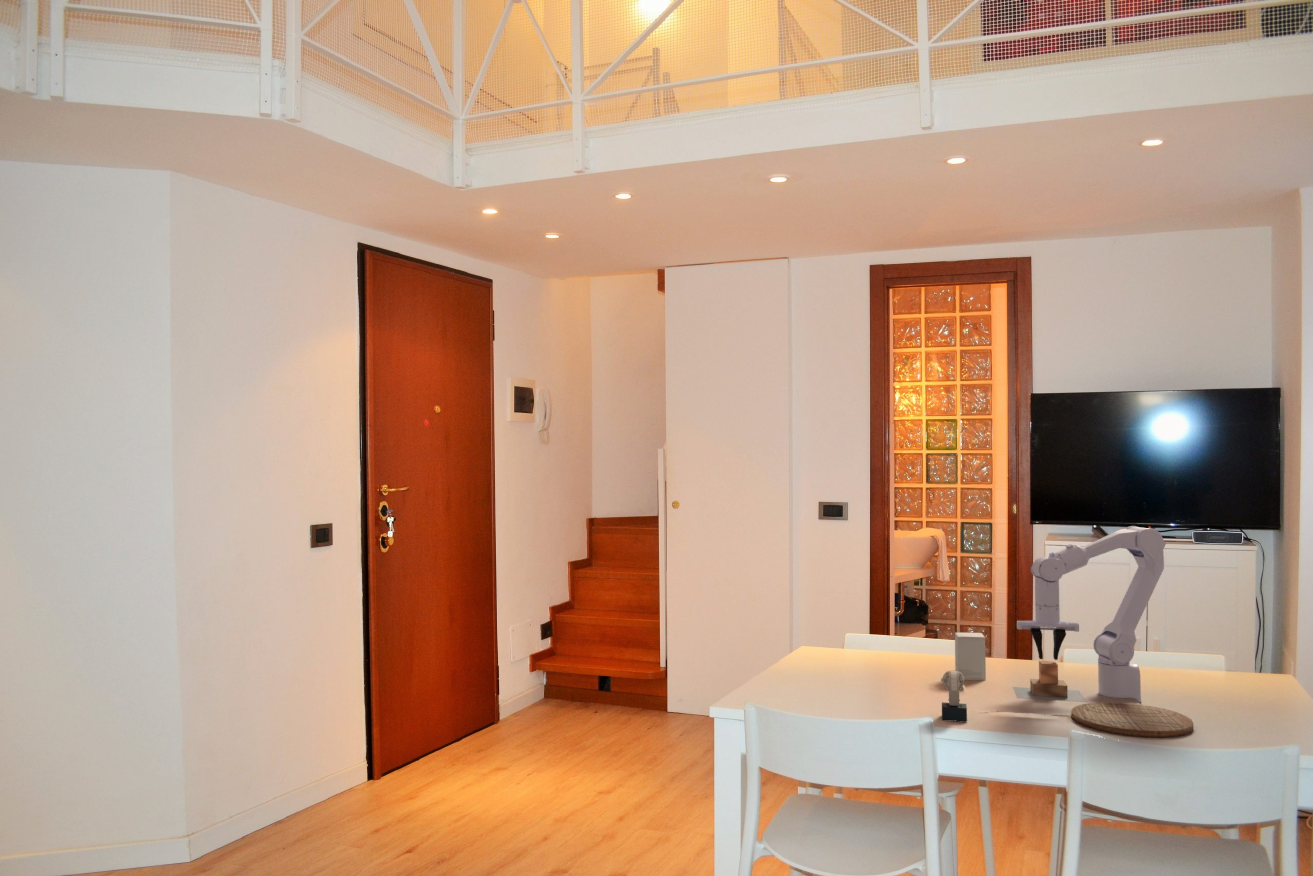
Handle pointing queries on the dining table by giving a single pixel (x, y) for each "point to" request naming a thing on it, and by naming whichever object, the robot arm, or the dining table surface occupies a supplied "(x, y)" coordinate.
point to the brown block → (1048, 689)
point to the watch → (953, 697)
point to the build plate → (1027, 694)
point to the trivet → (1132, 720)
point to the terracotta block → (1048, 672)
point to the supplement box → (970, 655)
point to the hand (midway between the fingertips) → (1048, 658)
